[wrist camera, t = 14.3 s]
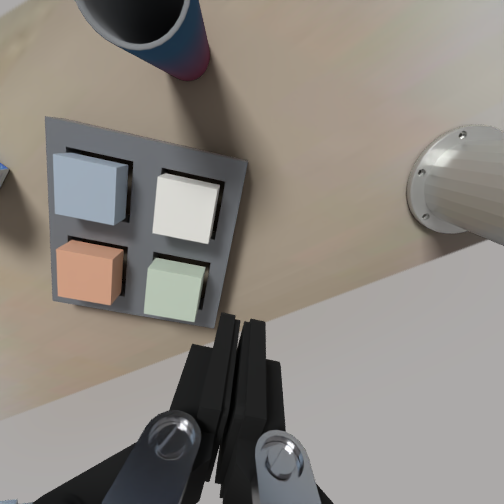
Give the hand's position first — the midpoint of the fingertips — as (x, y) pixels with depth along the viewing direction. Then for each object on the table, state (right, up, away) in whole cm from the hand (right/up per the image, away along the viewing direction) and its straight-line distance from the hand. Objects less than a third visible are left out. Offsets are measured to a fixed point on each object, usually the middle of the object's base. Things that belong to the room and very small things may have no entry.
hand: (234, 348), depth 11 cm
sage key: (-9, 0, +25) cm, 26 cm away
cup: (-6, +24, +19) cm, 31 cm away
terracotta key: (-18, +2, +24) cm, 31 cm away
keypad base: (-12, +6, +26) cm, 29 cm away
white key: (-6, +9, +22) cm, 24 cm away
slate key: (-16, +11, +21) cm, 29 cm away
